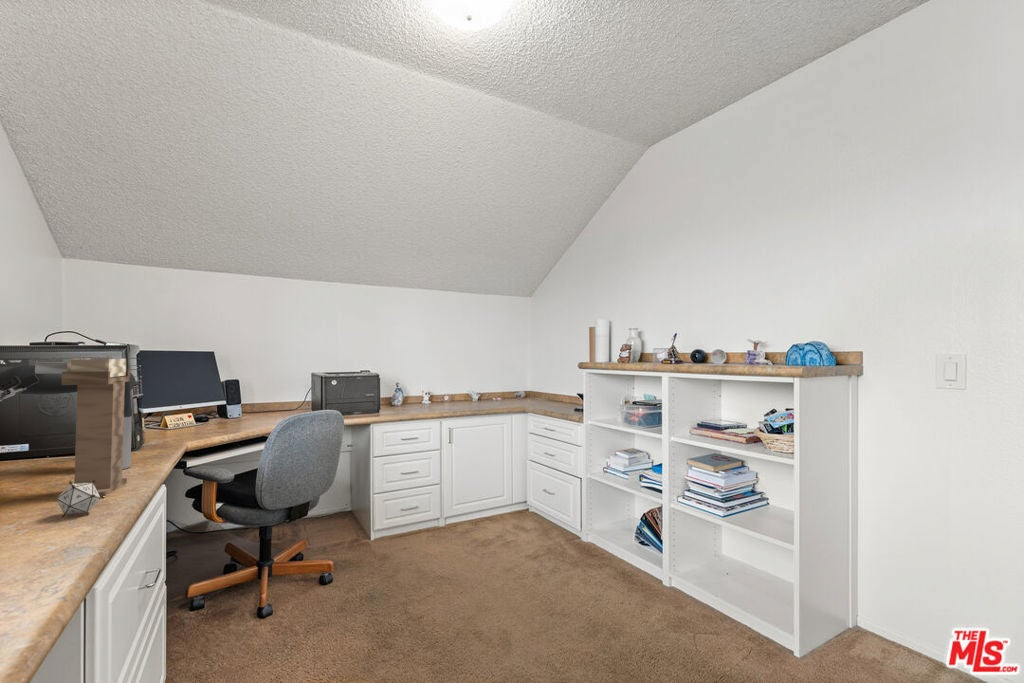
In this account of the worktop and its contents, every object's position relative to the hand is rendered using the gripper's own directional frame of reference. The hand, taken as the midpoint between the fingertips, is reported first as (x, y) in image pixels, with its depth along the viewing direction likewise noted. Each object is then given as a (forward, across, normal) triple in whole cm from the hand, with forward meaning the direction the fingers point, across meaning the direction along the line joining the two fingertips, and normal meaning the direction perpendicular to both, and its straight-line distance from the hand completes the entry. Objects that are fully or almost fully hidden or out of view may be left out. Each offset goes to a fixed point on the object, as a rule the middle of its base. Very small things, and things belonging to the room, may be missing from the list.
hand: (28, 378), depth 131 cm
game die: (+1, -22, +38) cm, 44 cm away
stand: (-3, 0, +35) cm, 35 cm away
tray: (+10, 0, +5) cm, 11 cm away
